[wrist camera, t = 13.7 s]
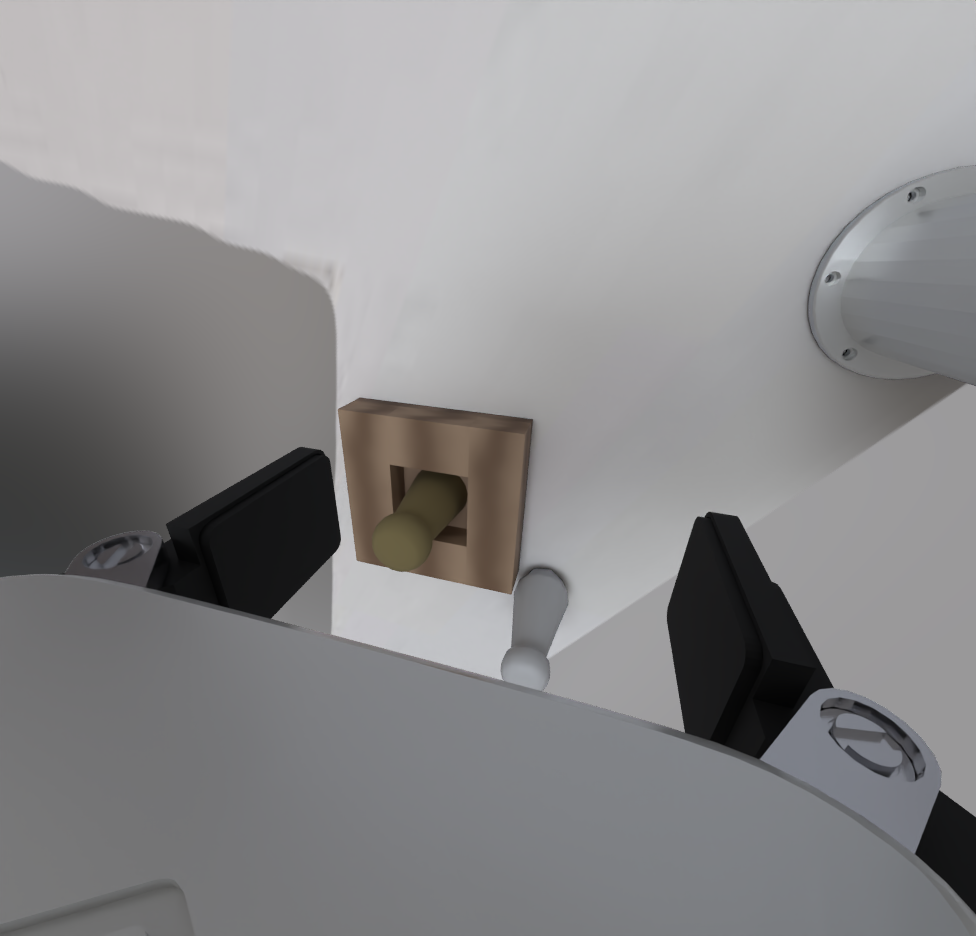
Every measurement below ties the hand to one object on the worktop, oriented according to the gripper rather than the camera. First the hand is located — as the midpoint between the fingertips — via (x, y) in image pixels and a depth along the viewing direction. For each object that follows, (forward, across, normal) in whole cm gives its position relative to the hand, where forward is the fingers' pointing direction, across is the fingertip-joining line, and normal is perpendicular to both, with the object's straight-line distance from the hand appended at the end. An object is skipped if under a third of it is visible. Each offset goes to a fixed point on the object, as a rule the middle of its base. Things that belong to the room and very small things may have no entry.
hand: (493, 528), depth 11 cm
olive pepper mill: (+28, +12, +16) cm, 34 cm away
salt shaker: (+28, 0, +26) cm, 39 cm away
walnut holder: (+28, +12, +16) cm, 35 cm away
